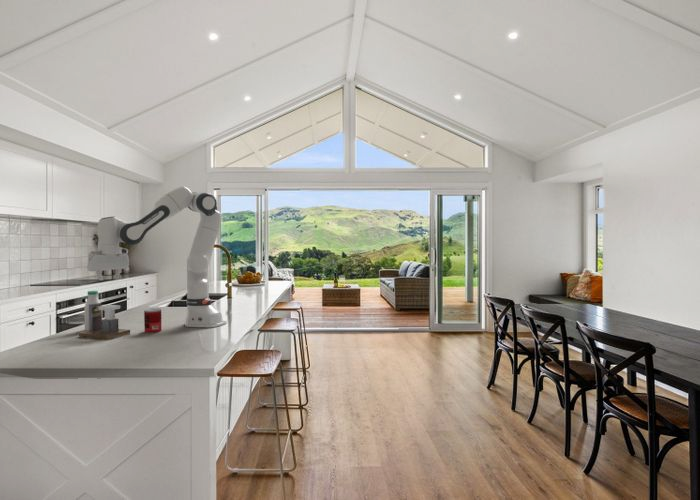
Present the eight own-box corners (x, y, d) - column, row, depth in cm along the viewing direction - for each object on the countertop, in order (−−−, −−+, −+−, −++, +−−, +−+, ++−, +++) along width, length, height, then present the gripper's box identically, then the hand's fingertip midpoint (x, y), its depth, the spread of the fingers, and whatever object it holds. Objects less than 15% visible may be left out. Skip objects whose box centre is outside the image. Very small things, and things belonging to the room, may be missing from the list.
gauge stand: (130, 333, 209) (129, 303, 209) (106, 340, 197) (106, 307, 197) (102, 331, 216) (102, 301, 215) (78, 336, 203) (78, 305, 203)
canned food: (164, 329, 219) (164, 308, 219) (155, 333, 211) (155, 311, 211) (150, 329, 220) (150, 308, 219) (141, 332, 212) (140, 310, 211)
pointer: (103, 309, 208) (103, 308, 208) (97, 310, 205) (97, 309, 205) (100, 309, 209) (100, 308, 209) (94, 310, 206) (94, 309, 206)
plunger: (120, 321, 207) (120, 305, 207) (109, 324, 201) (108, 307, 201) (103, 320, 211) (103, 304, 210) (91, 322, 205) (91, 306, 204)
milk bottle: (96, 331, 215) (95, 292, 214) (81, 331, 215) (80, 292, 214) (105, 328, 222) (104, 290, 222) (90, 328, 222) (90, 290, 222)
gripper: (93, 251, 193) (94, 281, 194) (131, 250, 212) (131, 277, 213) (83, 251, 195) (84, 281, 196) (121, 249, 214) (121, 277, 215)
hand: (109, 279), depth 204 cm, fingers open, 7 cm apart
